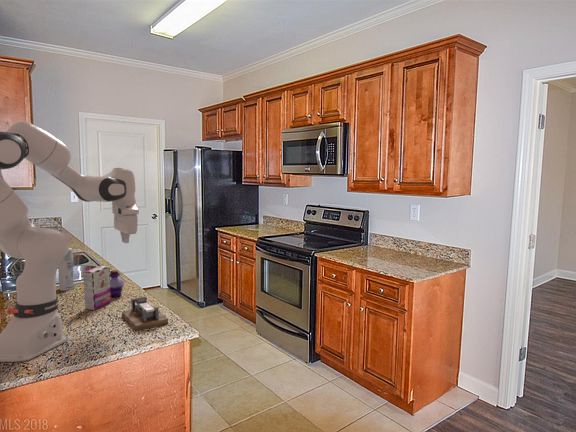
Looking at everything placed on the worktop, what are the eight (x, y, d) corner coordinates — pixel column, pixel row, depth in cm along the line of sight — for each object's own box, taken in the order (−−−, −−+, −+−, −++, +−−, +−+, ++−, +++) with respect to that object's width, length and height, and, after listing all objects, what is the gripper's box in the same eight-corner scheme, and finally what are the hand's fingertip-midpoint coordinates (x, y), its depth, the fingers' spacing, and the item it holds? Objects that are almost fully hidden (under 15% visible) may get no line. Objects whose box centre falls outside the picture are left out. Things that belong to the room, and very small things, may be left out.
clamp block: (158, 319, 147) (158, 306, 147) (143, 322, 144) (143, 309, 143) (145, 308, 160) (145, 296, 159) (131, 310, 156) (130, 298, 156)
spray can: (68, 290, 188) (66, 250, 186) (56, 290, 189) (54, 250, 187) (77, 287, 195) (75, 247, 193) (64, 286, 195) (62, 247, 193)
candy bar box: (101, 301, 174) (100, 265, 172) (111, 302, 173) (110, 266, 171) (84, 309, 163) (82, 271, 161) (94, 310, 162) (93, 272, 160)
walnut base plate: (168, 323, 149) (168, 318, 148) (136, 330, 141) (135, 325, 141) (152, 310, 163) (152, 305, 162) (122, 316, 155) (122, 311, 155)
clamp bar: (154, 310, 147) (154, 307, 147) (146, 312, 145) (146, 308, 145) (142, 300, 158) (142, 297, 158) (134, 301, 156) (134, 298, 156)
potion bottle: (100, 297, 179) (99, 271, 178) (114, 292, 187) (113, 267, 186) (115, 299, 176) (114, 273, 175) (129, 294, 184) (128, 269, 183)
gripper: (109, 207, 162) (110, 239, 164) (123, 211, 146) (124, 247, 148) (125, 206, 166) (126, 238, 168) (140, 210, 150) (141, 245, 152)
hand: (125, 242), depth 158 cm, fingers closed
